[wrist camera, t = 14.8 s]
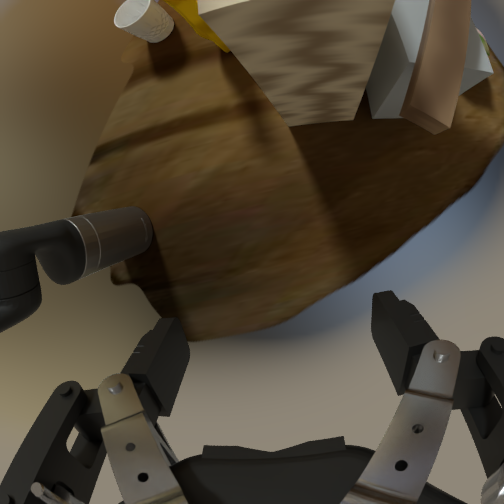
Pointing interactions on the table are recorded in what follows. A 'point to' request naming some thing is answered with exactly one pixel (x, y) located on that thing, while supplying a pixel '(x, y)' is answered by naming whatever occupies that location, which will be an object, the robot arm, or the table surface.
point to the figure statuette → (196, 20)
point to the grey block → (413, 59)
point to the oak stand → (304, 50)
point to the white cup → (144, 20)
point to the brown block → (438, 66)
